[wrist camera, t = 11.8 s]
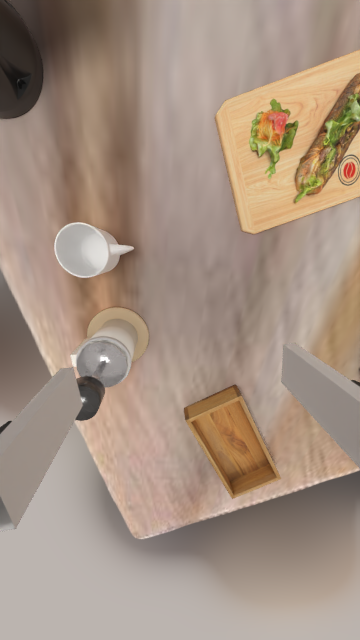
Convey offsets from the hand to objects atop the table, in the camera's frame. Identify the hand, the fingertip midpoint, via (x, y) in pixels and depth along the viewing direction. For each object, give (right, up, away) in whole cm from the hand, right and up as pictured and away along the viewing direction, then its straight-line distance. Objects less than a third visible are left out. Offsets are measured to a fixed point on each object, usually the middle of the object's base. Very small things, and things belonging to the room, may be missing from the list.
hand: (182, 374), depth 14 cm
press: (-14, 0, +38) cm, 40 cm away
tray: (+14, -30, +49) cm, 59 cm away
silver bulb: (-14, -4, +24) cm, 28 cm away
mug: (-15, +18, +32) cm, 40 cm away
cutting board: (+26, +38, +30) cm, 55 cm away
